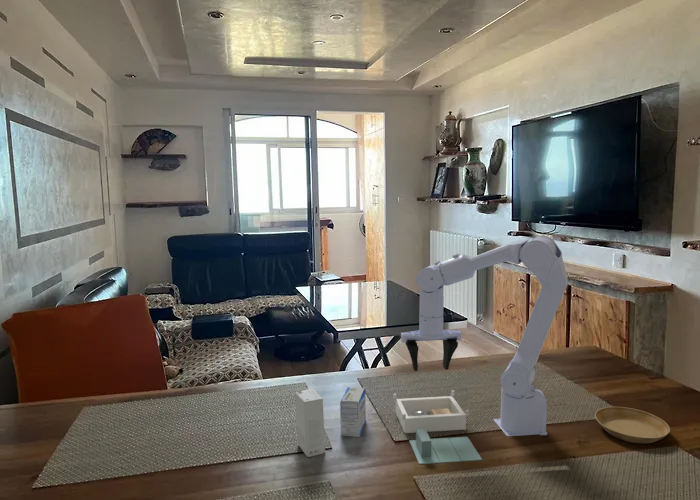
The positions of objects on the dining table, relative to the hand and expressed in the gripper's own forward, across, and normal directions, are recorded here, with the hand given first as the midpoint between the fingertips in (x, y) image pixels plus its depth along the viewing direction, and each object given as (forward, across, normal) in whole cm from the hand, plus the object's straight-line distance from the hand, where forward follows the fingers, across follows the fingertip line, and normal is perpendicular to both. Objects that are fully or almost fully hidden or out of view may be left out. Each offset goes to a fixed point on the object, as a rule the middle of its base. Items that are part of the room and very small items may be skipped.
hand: (430, 368), depth 123 cm
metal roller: (+9, +4, +6) cm, 11 cm away
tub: (+10, +2, +7) cm, 13 cm away
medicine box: (+11, +20, +8) cm, 24 cm away
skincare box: (+11, +30, +15) cm, 35 cm away
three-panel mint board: (+11, +2, +20) cm, 23 cm away
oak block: (+10, 0, +8) cm, 13 cm away
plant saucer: (+11, -42, +16) cm, 46 cm away
